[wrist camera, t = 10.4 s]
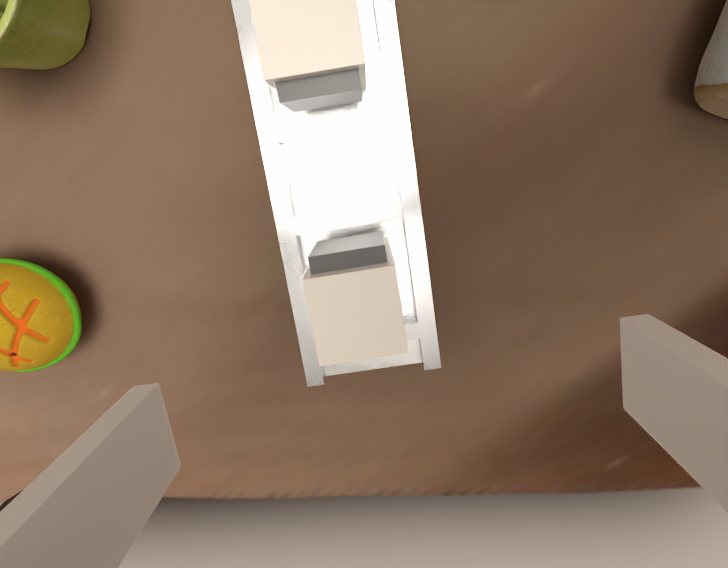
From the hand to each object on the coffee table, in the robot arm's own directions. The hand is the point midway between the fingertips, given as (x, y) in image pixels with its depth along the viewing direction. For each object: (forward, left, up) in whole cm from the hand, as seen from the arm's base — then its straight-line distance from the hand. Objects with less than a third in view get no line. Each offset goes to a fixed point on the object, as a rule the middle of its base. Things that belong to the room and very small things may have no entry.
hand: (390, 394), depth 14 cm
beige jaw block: (+1, 0, -16) cm, 16 cm away
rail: (+1, -6, -17) cm, 18 cm away
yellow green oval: (+22, -1, -17) cm, 28 cm away
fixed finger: (+1, -12, -16) cm, 20 cm away
